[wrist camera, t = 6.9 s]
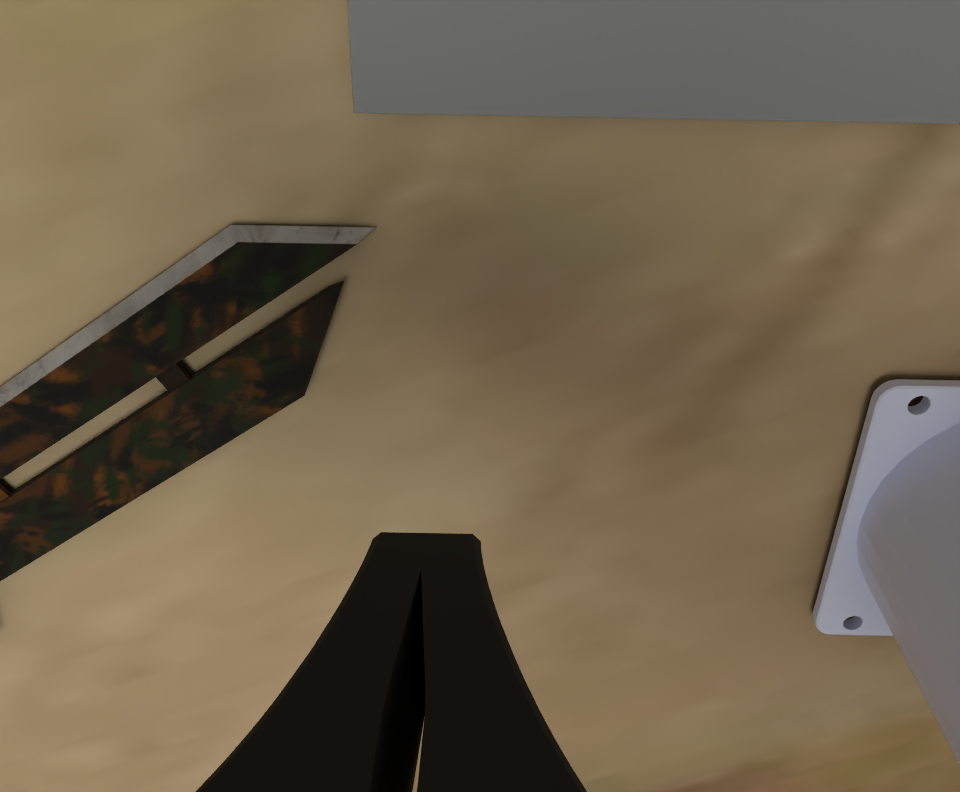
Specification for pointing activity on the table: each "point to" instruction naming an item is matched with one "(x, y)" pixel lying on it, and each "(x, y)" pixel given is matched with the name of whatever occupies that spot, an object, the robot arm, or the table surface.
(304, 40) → the table surface
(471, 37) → the mat
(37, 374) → the dark ornate flat tool
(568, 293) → the table surface
